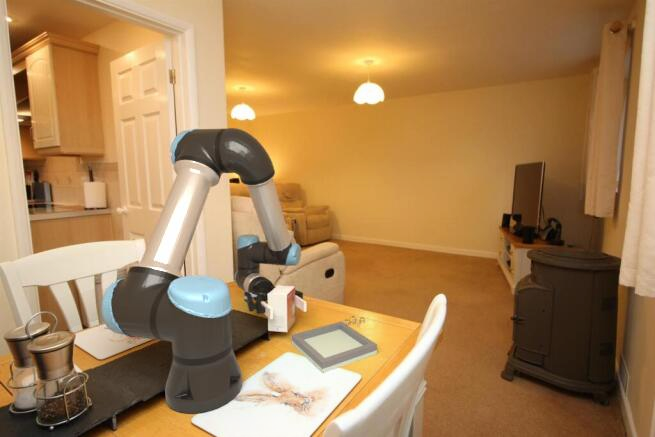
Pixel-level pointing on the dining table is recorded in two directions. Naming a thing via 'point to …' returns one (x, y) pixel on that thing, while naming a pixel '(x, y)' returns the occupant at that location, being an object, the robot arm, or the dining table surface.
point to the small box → (282, 308)
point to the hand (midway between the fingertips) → (288, 310)
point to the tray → (333, 346)
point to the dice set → (353, 320)
